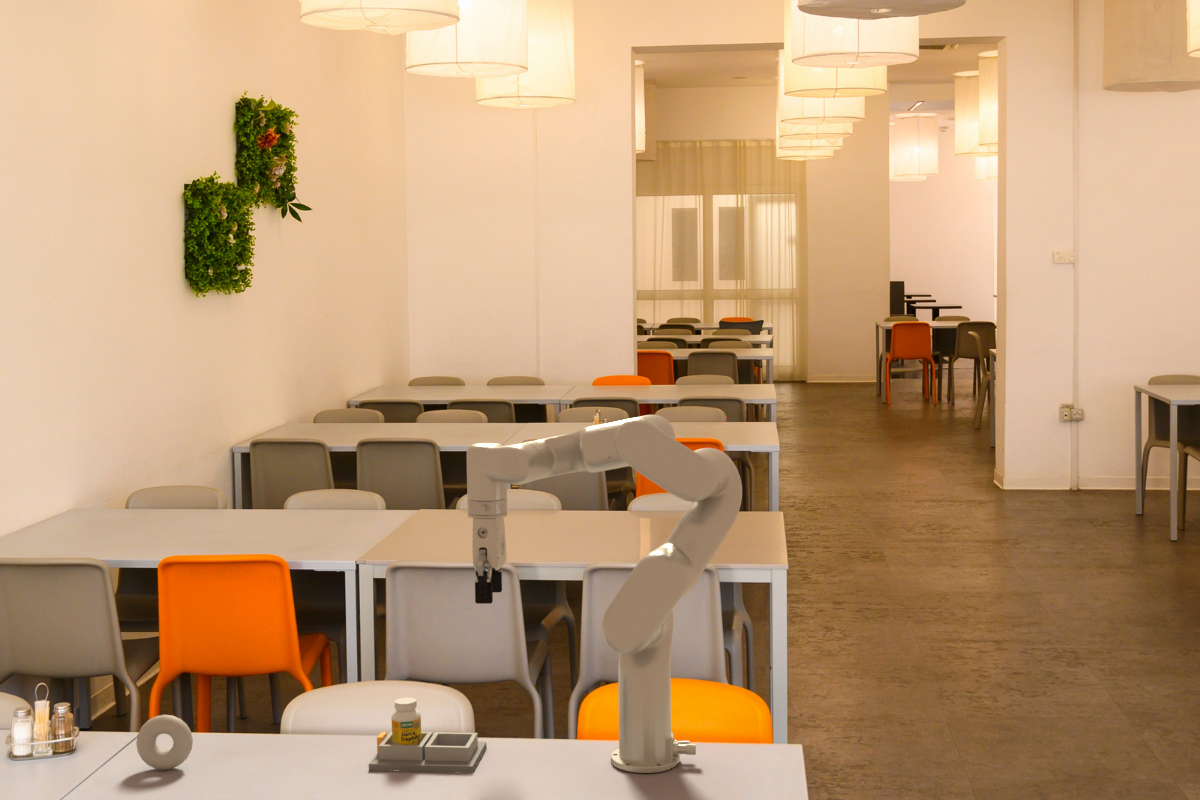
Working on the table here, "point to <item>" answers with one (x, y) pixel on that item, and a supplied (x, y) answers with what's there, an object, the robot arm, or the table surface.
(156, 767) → the donut
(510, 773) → the table surface
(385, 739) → the compartment tray
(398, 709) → the supplement bottle
